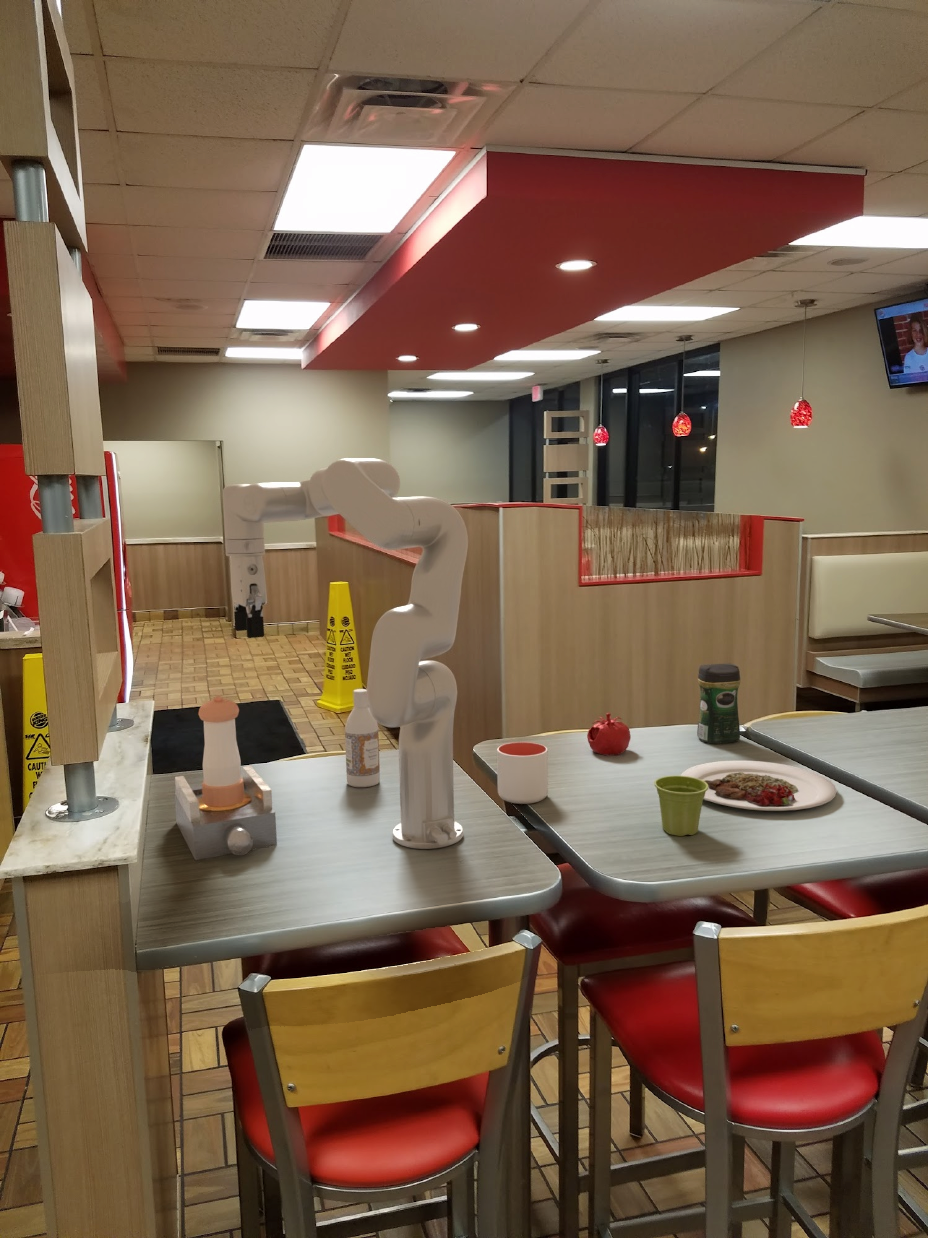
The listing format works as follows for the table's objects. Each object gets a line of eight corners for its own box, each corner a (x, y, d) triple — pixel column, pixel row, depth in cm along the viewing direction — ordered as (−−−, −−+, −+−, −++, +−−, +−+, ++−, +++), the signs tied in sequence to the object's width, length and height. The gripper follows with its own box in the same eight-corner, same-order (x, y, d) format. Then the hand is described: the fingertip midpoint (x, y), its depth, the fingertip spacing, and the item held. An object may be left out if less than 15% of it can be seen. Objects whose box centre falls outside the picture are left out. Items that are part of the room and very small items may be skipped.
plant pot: (713, 826, 168) (714, 780, 166) (698, 844, 160) (699, 795, 158) (663, 817, 172) (664, 772, 171) (646, 834, 164) (646, 787, 163)
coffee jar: (728, 734, 227) (730, 659, 225) (744, 743, 220) (746, 666, 217) (691, 737, 226) (693, 662, 223) (706, 746, 218) (707, 668, 215)
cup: (517, 786, 192) (516, 739, 191) (557, 795, 186) (557, 747, 184) (487, 799, 184) (486, 750, 183) (528, 809, 178) (528, 759, 177)
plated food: (744, 760, 207) (744, 746, 207) (868, 796, 183) (868, 779, 182) (648, 787, 190) (648, 771, 190) (770, 830, 166) (770, 812, 165)
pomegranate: (633, 747, 218) (633, 708, 217) (627, 759, 209) (627, 719, 208) (591, 744, 221) (591, 706, 220) (583, 756, 212) (583, 716, 211)
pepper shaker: (213, 810, 163) (207, 703, 160) (196, 799, 168) (190, 696, 166) (251, 800, 167) (246, 696, 164) (233, 790, 173) (228, 690, 170)
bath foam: (360, 790, 191) (357, 695, 188) (340, 783, 196) (336, 690, 193) (386, 782, 196) (383, 690, 193) (366, 775, 201) (363, 685, 198)
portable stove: (282, 853, 159) (280, 799, 158) (199, 869, 153) (195, 814, 152) (250, 810, 181) (248, 763, 179) (176, 822, 175) (173, 774, 173)
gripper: (276, 549, 176) (280, 638, 179) (252, 544, 191) (256, 626, 194) (236, 551, 173) (241, 642, 175) (216, 546, 188) (220, 629, 190)
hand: (249, 633), depth 185 cm, fingers open, 9 cm apart
